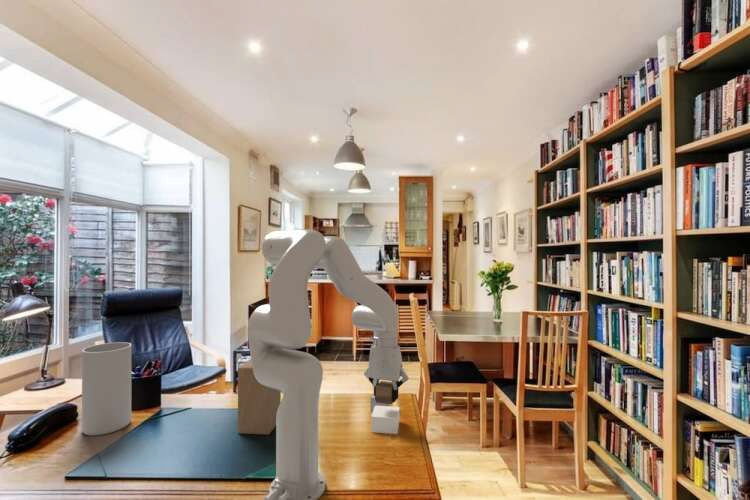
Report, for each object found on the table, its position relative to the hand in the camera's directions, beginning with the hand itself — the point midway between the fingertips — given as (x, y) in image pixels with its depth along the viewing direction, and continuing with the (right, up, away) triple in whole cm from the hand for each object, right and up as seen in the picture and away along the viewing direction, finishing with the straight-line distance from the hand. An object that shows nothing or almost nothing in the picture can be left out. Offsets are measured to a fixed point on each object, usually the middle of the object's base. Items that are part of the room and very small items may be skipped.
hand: (386, 398), depth 114 cm
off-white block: (0, -9, 0) cm, 9 cm away
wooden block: (-40, -9, 0) cm, 41 cm away
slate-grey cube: (-2, -9, +12) cm, 15 cm away
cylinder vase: (-88, -9, 0) cm, 88 cm away
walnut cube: (0, -1, 0) cm, 1 cm away
